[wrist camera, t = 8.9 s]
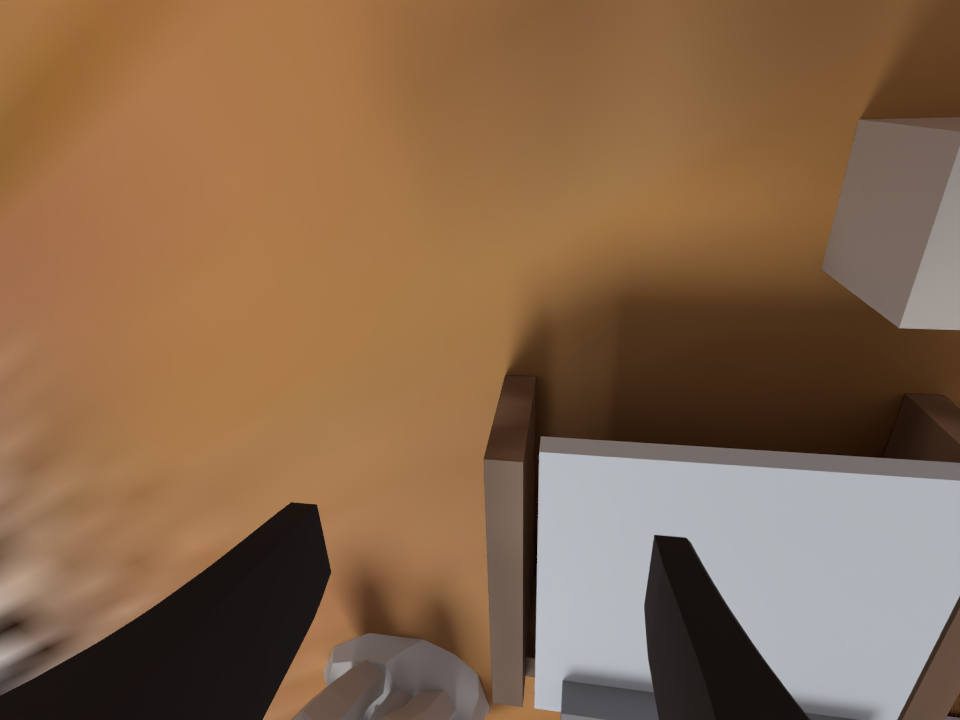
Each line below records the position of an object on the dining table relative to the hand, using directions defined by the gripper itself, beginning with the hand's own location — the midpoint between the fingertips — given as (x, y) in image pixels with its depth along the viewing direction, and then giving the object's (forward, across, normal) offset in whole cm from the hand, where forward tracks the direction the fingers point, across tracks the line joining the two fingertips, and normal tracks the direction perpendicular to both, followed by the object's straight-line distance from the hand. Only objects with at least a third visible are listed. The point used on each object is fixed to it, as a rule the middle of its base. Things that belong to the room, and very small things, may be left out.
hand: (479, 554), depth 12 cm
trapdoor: (+5, -7, +7) cm, 11 cm away
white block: (+10, -12, -6) cm, 17 cm away
